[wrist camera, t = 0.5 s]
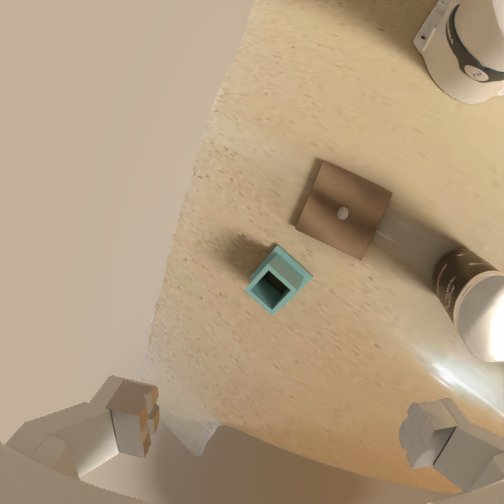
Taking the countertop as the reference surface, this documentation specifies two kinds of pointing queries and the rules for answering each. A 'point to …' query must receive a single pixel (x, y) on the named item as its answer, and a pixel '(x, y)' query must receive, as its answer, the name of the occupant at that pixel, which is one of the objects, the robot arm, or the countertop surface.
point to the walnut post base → (343, 195)
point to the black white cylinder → (473, 301)
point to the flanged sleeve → (286, 272)
